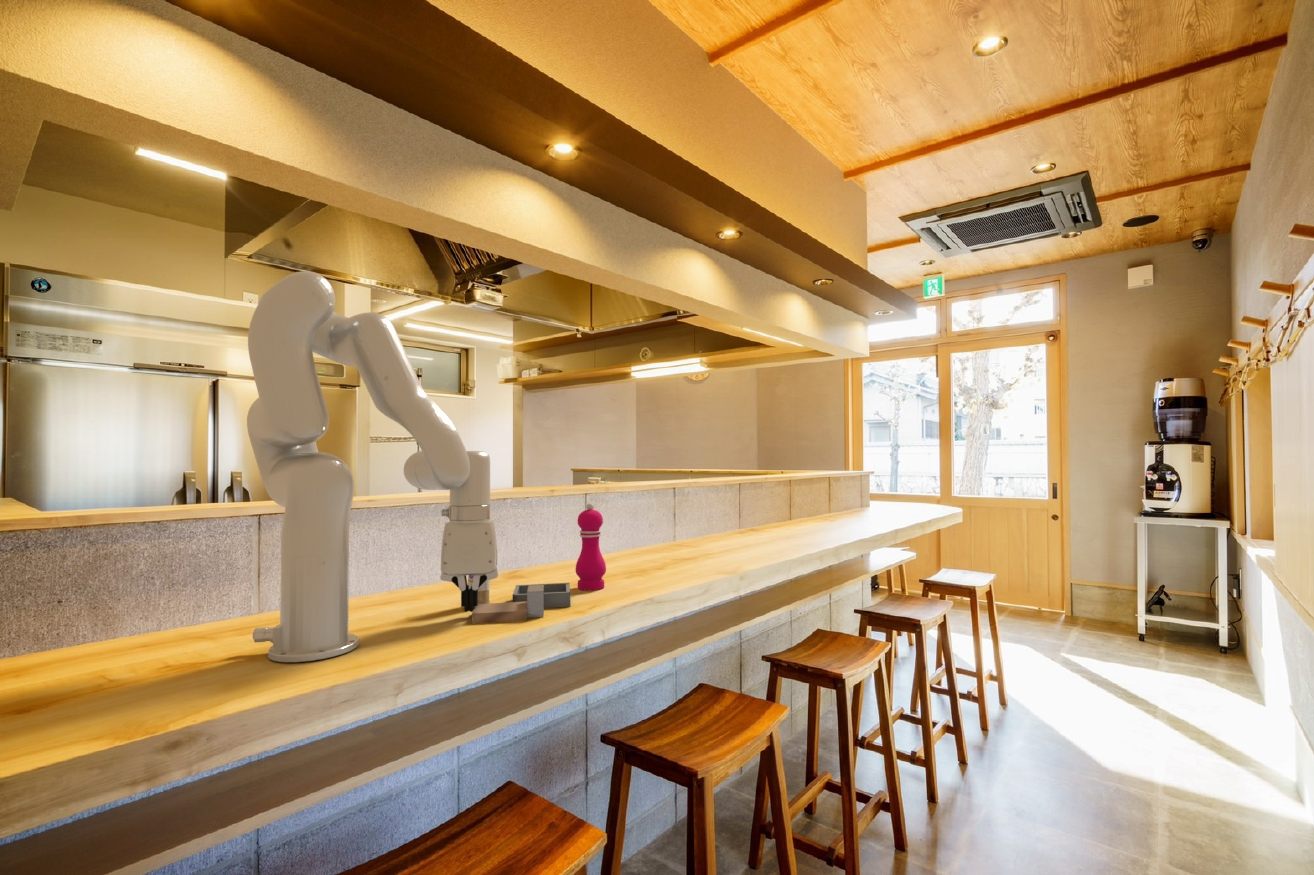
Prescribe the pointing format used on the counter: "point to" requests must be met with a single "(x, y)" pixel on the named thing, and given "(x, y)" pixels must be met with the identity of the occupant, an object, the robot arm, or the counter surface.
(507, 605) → the board
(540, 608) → the block
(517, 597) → the tray
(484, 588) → the sprinkles bottle
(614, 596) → the counter surface
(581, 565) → the pepper mill
